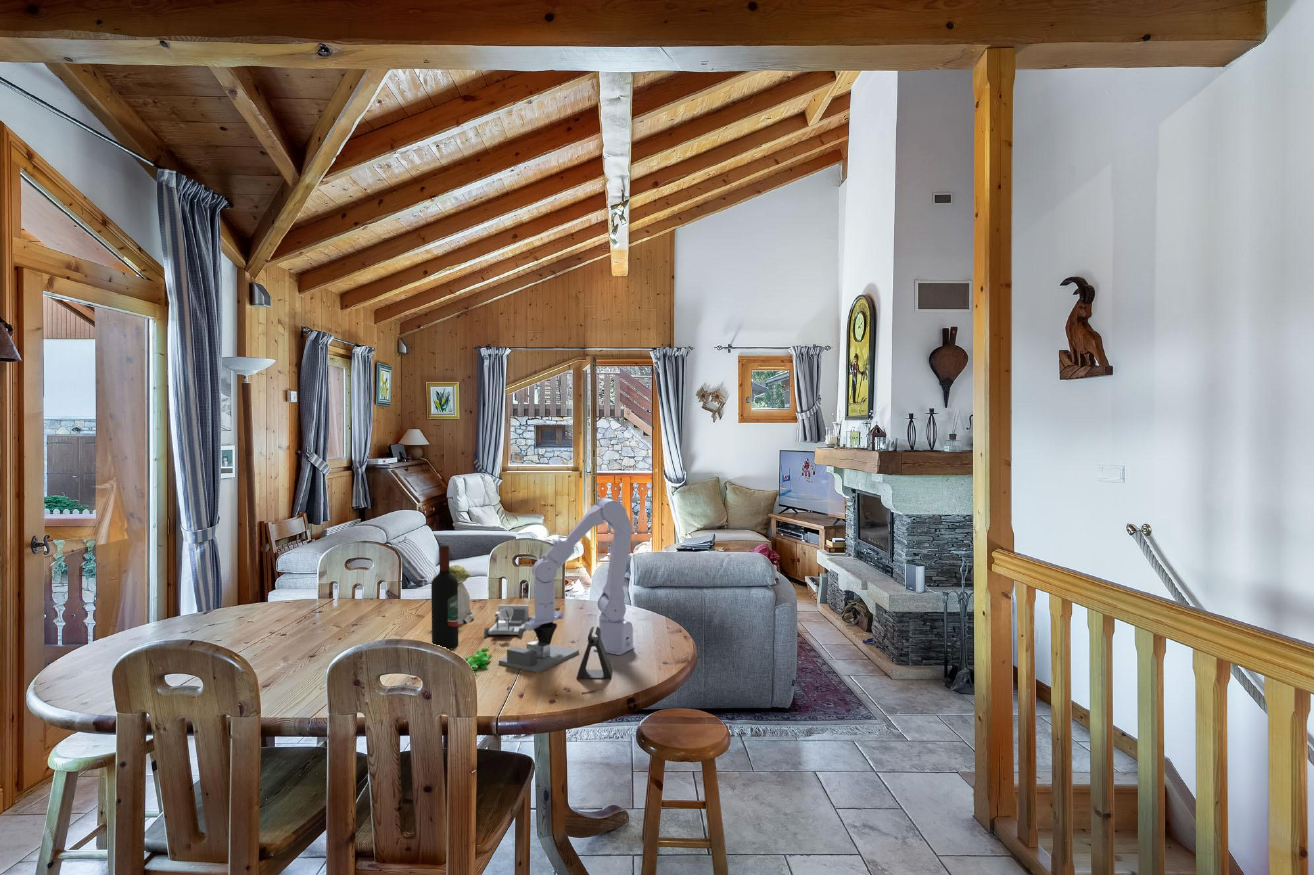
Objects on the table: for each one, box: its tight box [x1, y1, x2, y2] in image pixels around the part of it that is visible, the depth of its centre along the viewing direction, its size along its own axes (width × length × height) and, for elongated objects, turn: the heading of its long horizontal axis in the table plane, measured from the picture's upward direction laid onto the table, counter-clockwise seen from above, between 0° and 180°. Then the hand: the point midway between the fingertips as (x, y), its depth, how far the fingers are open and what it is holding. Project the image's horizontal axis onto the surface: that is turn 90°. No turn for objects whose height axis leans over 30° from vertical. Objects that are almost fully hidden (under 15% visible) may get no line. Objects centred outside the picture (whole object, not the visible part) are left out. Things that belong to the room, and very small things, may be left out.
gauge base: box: [498, 644, 580, 674], centre depth 196 cm, size 14×18×4 cm
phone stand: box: [576, 626, 613, 680], centre depth 182 cm, size 9×6×12 cm, turn 90°
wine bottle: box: [430, 544, 459, 650], centre depth 207 cm, size 8×8×30 cm
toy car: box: [483, 604, 532, 638], centre depth 222 cm, size 18×10×12 cm
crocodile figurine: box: [463, 647, 493, 675], centre depth 187 cm, size 7×18×4 cm, turn 163°
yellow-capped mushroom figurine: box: [449, 565, 476, 626], centre depth 236 cm, size 12×13×18 cm
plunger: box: [526, 640, 551, 658], centre depth 196 cm, size 9×3×3 cm, turn 60°
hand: (544, 649), depth 198 cm, fingers closed
